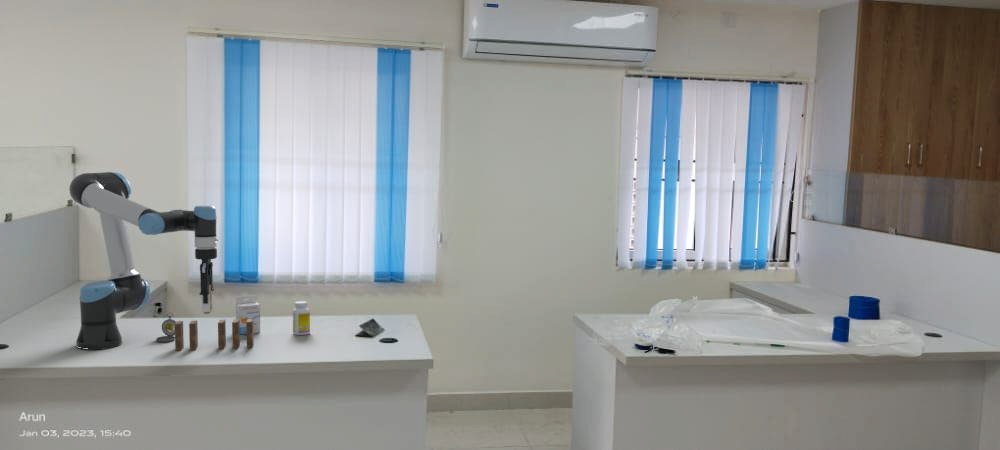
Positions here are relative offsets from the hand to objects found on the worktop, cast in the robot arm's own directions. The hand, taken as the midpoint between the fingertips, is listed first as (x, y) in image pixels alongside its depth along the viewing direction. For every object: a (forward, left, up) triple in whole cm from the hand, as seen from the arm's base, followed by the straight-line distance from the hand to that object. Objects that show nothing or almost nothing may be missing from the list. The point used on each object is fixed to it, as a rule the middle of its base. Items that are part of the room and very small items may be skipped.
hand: (207, 310), depth 292 cm
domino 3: (+5, 0, -14) cm, 15 cm away
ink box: (+12, +23, -15) cm, 30 cm away
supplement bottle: (+33, +18, -15) cm, 40 cm away
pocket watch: (-17, +15, -15) cm, 27 cm away
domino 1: (-10, 0, -14) cm, 18 cm away
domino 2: (-5, 0, -14) cm, 15 cm away
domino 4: (+10, 0, -14) cm, 17 cm away
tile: (0, 0, -1) cm, 1 cm away
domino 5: (+15, 0, -14) cm, 21 cm away
